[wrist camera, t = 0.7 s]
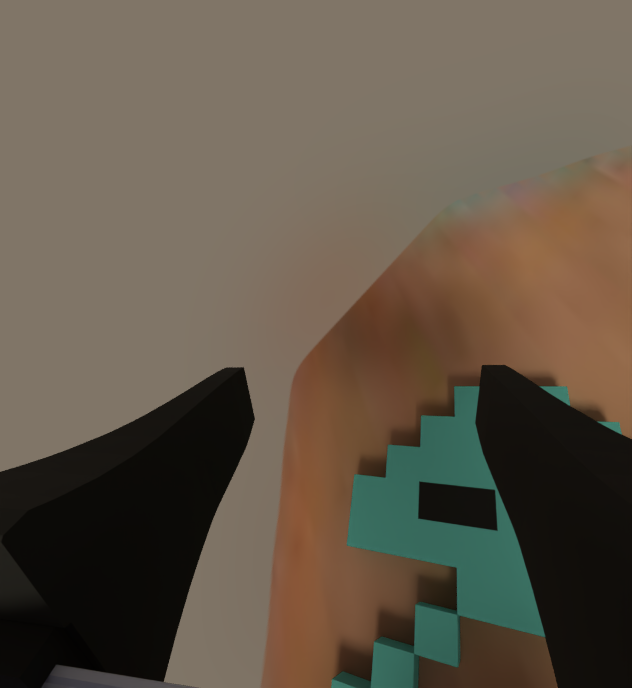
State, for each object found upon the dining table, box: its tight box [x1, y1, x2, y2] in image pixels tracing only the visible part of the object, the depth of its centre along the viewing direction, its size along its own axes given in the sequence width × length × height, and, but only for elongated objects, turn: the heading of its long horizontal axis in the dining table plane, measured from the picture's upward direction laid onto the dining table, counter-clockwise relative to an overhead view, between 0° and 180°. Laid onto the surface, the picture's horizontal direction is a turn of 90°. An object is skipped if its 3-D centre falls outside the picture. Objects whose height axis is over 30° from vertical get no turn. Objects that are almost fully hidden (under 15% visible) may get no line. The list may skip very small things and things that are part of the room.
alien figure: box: [331, 386, 622, 688], centre depth 20 cm, size 20×2×20 cm
